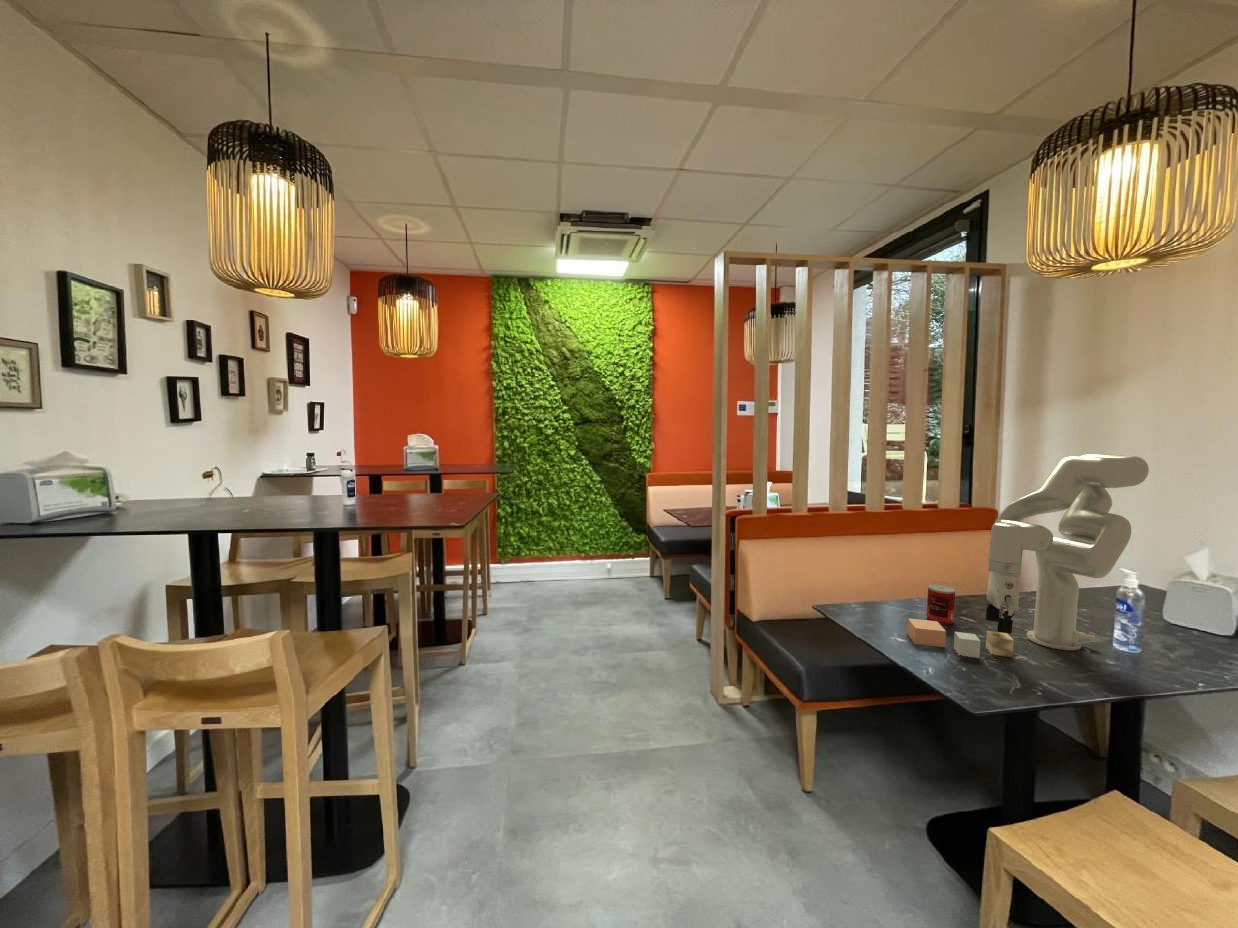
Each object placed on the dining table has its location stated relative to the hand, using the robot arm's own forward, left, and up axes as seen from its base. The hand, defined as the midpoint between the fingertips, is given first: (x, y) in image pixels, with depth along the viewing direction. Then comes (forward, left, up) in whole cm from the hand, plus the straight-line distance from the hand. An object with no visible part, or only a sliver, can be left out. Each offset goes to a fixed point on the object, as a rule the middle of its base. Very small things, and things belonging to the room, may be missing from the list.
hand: (997, 626), depth 149 cm
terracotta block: (+17, -3, -8) cm, 19 cm away
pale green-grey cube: (+8, +3, -8) cm, 12 cm away
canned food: (+9, -23, -8) cm, 26 cm away
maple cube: (-1, -1, -8) cm, 8 cm away
